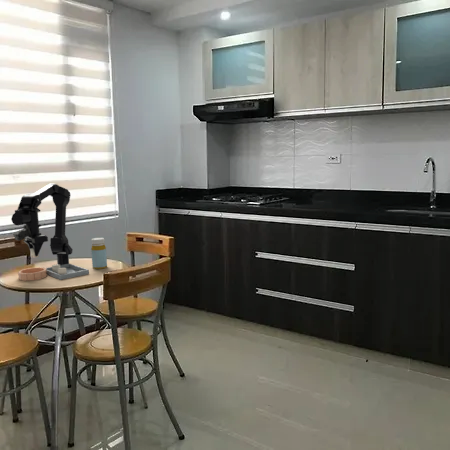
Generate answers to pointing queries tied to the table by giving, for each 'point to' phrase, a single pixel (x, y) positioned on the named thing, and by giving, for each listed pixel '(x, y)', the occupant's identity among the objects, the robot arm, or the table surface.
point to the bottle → (98, 253)
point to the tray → (68, 271)
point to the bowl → (32, 273)
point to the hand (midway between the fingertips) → (34, 255)
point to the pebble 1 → (33, 253)
